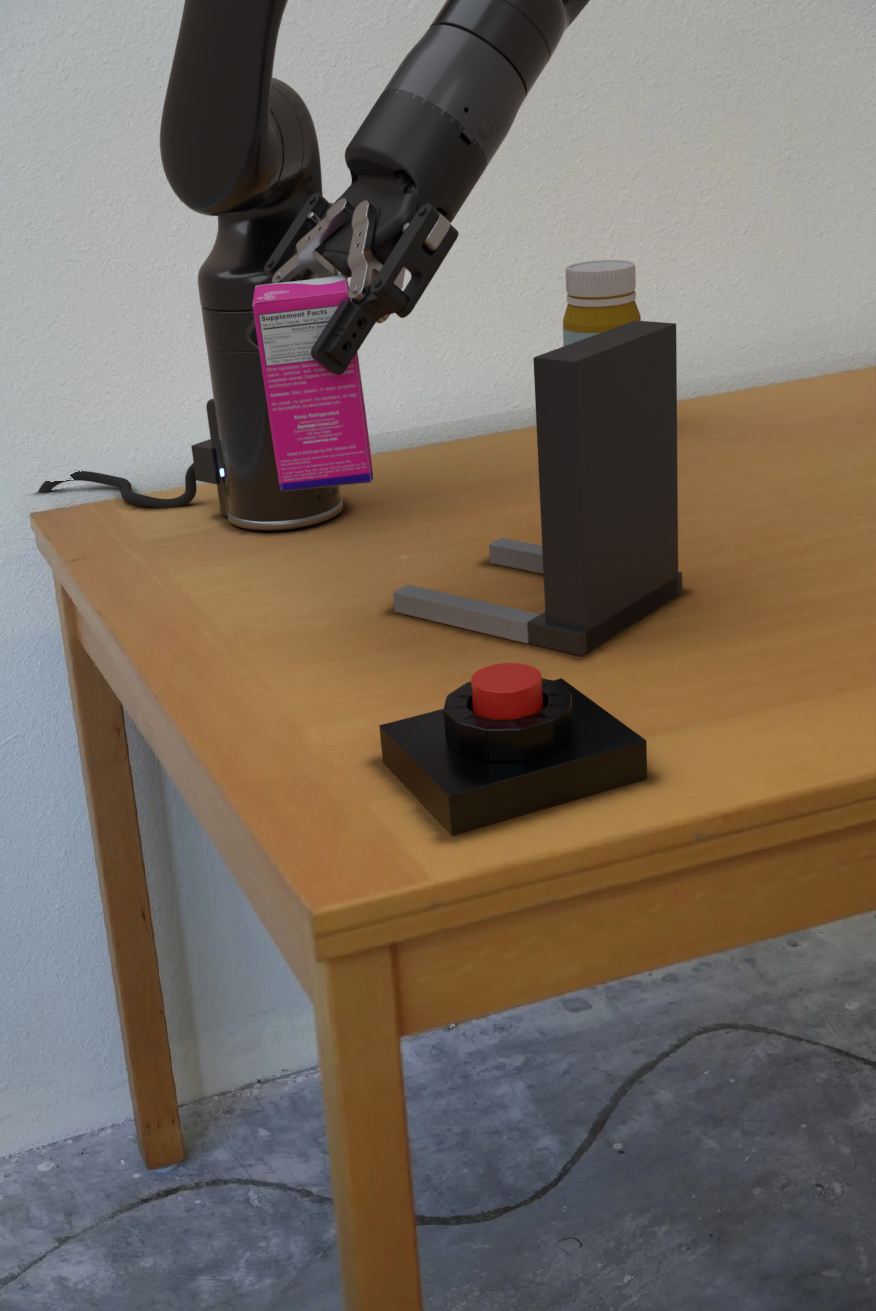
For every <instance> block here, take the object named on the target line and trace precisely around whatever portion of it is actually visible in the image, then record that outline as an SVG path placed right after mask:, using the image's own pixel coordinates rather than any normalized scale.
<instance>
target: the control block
mask: <svg viewBox="0 0 876 1311" xmlns="http://www.w3.org/2000/svg"><path fill="white" fill-rule="evenodd" d="M542 694H543V708H542V710H540V711H539V712H538V713H536V714H533V715H529V716H525V717H522V718H518V719H502V720H493V719H489V718H485V717H481V716H477V715H476V714H475V713H474V711H473V701H472V687H471V681H468V682H466V683H464V684H462V685H460V686H459V687H458V688H456V689H454V690H453V691H451V692H450V693H449V694H447V695H446V697H445V701H444V704H443V705H444V706H443V708H441V709H437V710H433V711H429V712H425V713H422V714H418V715H413V716H410V717H406V718H402V719H399V720H394V721H390V722H387V723H383V724H380V725H379V738H380V747H381V757H382V762H383V763H384V765H385V766H387V768H388V769H389V770H390V771H391V772H392V773H393V774H394V775H395V776H396V778H398V780H399V781H400V782H401V783H402V784H403V785H404V786H405V787H406V788H407V789H408V790H409V791H410V792H411V794H412V795H413V796H414V797H415V798H416V799H417V800H418V801H419V802H420V803H421V804H422V805H423V806H424V808H426V810H427V811H428V812H430V814H432V815H433V817H434V818H435V819H436V820H437V821H438V822H439V823H440V824H441V826H443V828H444V829H445V830H446V831H448V833H449V834H450V835H451V836H454V835H458V834H462V833H465V832H468V831H472V830H475V829H479V828H482V827H485V826H488V825H492V824H496V823H499V822H502V821H506V820H509V819H513V818H516V817H519V816H523V815H527V814H531V813H533V812H536V811H540V810H545V809H547V808H551V807H553V806H558V805H561V804H564V803H568V802H571V801H574V800H577V799H581V798H584V797H588V796H592V795H595V794H599V793H601V792H605V791H609V790H612V789H615V788H619V787H622V786H626V785H629V784H633V783H635V782H639V781H643V780H647V779H648V758H647V757H648V753H647V751H648V750H647V749H648V747H647V746H648V745H647V739H646V738H644V737H643V736H641V735H640V734H638V733H637V732H635V730H633V729H631V728H630V727H629V726H628V725H626V724H625V723H624V722H622V721H621V720H619V719H618V718H617V717H615V715H613V714H611V713H610V712H609V711H607V710H605V709H604V708H603V707H601V706H600V705H599V704H597V703H596V702H595V701H594V700H592V698H589V697H588V696H587V695H586V694H584V693H582V692H581V691H580V690H579V689H578V688H576V687H575V686H573V685H572V684H570V683H569V682H568V681H566V680H565V679H564V678H562V677H560V678H557V679H554V680H553V679H549V678H544V677H542Z"/></svg>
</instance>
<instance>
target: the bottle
mask: <svg viewBox="0 0 876 1311" xmlns="http://www.w3.org/2000/svg"><path fill="white" fill-rule="evenodd" d="M636 272H637V270H636V264H635V262H633V261H630V260H623V259H599V260H597V259H596V260H587V261H581V262H576V263H575V262H574V263H572V264H569V265H567V266H566V267H565V273H564V274H565V291H566V303H567V305H566V307H565V308H566V309H565V312H564V315H563V319H562V342H563V344H562V345H563V347H564V346H566V345H569V344H572V343H575V342H577V341H580V340H583V339H586V338H588V337H591V336H594V335H597V334H599V333H602V332H605V331H608V330H610V329H613V328H616V327H619V326H621V325H624V324H627V323H630V322H632V321H635V320H636V321H642V318H641V317H642V316H641V312H640V310H639V307H638V305H637V302H636V299H637V298H636V297H637V293H636V292H637V291H636V287H637V286H636V285H637V279H636Z"/></svg>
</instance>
